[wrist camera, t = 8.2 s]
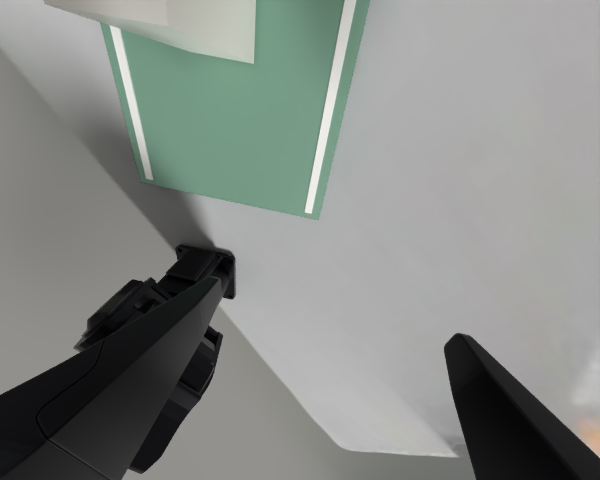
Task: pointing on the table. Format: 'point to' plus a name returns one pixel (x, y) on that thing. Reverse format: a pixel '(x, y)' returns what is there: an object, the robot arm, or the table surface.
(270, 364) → the table surface
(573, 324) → the table surface
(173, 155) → the board
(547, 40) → the table surface
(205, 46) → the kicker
